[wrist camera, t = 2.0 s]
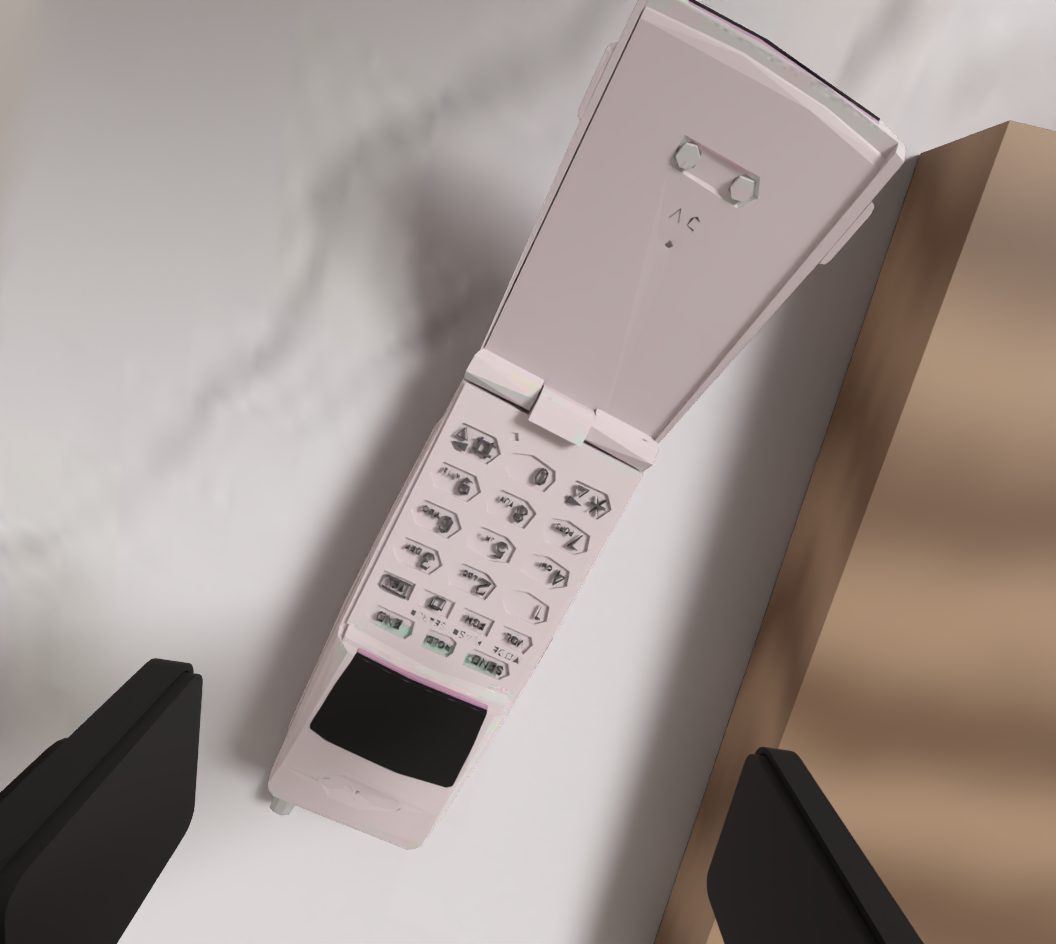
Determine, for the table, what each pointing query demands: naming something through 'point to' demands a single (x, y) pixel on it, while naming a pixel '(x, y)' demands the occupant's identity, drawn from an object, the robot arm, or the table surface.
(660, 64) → the mobile phone
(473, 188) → the table surface
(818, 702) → the walnut stand
